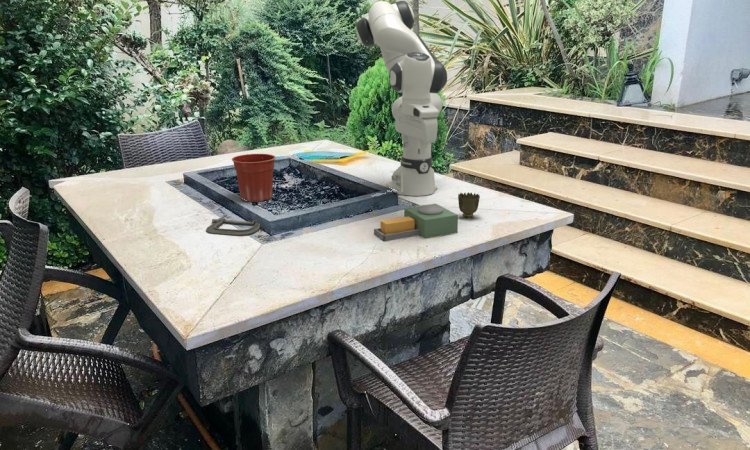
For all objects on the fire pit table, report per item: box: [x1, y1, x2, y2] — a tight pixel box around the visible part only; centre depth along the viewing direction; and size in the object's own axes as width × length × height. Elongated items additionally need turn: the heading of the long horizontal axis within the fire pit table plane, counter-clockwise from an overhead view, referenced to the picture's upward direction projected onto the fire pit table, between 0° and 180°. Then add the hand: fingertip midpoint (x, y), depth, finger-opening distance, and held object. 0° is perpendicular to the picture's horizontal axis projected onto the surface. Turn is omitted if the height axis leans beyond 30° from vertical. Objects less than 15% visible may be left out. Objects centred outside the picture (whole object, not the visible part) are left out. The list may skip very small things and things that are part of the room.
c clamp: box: [205, 215, 261, 237], centre depth 192 cm, size 20×17×3 cm
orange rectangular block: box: [380, 216, 415, 235], centre depth 183 cm, size 4×10×5 cm, turn 114°
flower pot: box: [231, 153, 277, 203], centre depth 222 cm, size 16×16×16 cm
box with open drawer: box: [373, 203, 459, 242], centre depth 185 cm, size 14×25×7 cm, turn 115°
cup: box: [457, 191, 480, 219], centre depth 199 cm, size 8×7×8 cm
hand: (413, 151), depth 183 cm, fingers open, 8 cm apart
